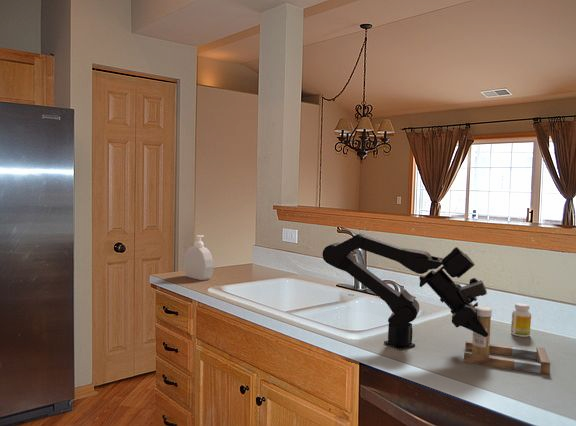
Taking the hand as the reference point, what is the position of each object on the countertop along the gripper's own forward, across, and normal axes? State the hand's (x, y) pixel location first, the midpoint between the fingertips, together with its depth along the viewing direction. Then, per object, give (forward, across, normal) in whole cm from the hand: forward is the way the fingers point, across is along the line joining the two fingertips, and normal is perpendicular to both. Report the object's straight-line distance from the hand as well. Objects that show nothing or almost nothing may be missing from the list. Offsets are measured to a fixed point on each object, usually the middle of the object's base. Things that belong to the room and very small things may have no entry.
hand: (487, 333), depth 131 cm
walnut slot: (+8, 0, +1) cm, 8 cm away
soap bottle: (-83, +54, +93) cm, 136 cm away
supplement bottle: (+12, +27, -2) cm, 29 cm away
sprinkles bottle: (+4, 0, +6) cm, 7 cm away
